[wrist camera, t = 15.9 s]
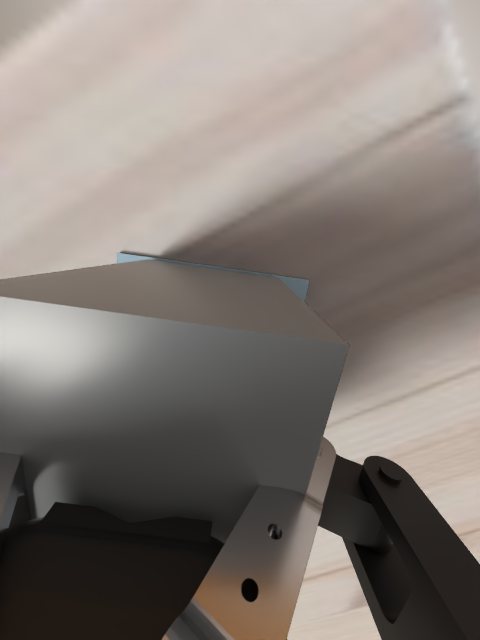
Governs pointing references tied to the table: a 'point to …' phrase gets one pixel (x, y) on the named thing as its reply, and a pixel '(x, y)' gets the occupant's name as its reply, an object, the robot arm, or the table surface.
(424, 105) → the table surface
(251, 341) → the gray box
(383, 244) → the table surface
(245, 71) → the table surface
